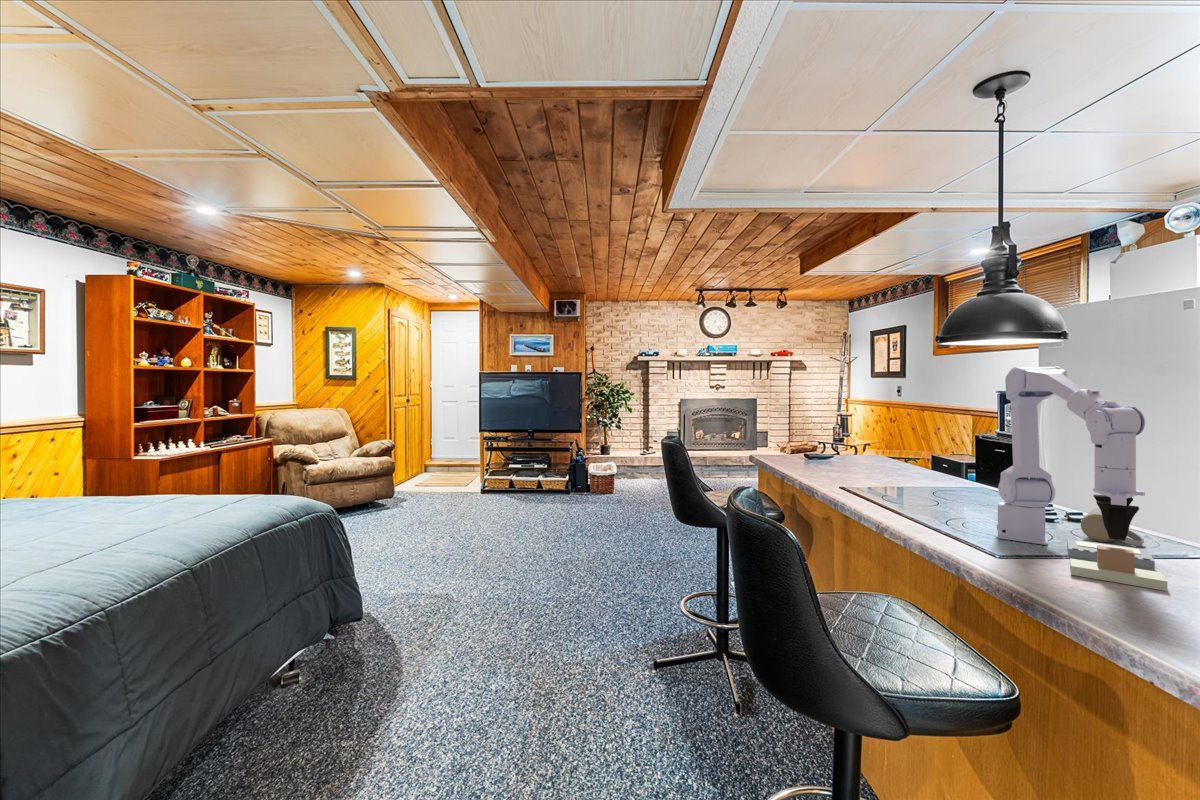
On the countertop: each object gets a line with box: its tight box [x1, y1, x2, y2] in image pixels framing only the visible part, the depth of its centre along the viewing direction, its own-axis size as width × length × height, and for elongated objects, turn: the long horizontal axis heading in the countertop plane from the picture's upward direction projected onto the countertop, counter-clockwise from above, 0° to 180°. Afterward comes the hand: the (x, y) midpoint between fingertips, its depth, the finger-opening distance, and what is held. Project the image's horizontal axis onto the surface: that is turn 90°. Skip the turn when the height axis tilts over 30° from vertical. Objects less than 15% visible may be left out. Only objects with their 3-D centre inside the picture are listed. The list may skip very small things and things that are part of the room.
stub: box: [1069, 545, 1168, 592], centre depth 98 cm, size 13×6×6 cm, turn 48°
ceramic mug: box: [1080, 507, 1145, 548], centre depth 122 cm, size 11×8×8 cm
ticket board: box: [1066, 538, 1156, 571], centre depth 110 cm, size 13×10×2 cm
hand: (1115, 535), depth 98 cm, fingers open, 7 cm apart
